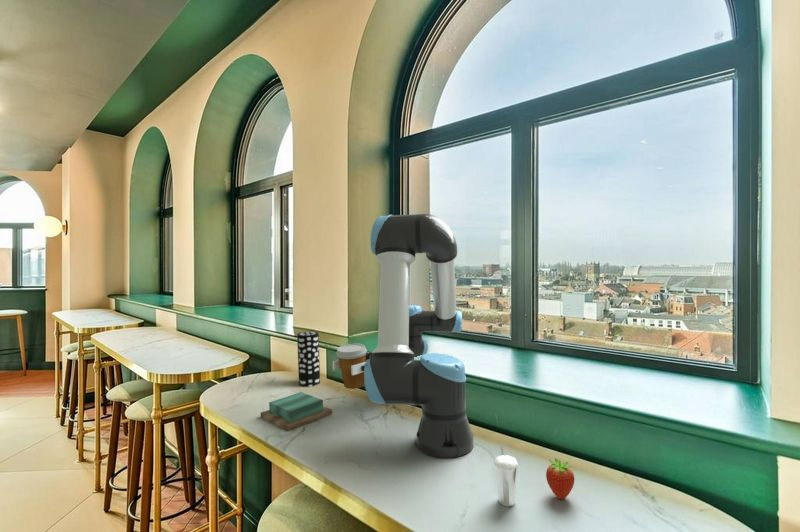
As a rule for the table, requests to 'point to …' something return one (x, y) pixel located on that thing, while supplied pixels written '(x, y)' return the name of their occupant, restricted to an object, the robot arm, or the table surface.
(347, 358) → the disposable coffee cup
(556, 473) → the fruit
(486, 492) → the table surface
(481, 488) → the table surface
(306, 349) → the white-spotted black cylinder
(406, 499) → the table surface
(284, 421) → the display stand
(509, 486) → the milkshake
